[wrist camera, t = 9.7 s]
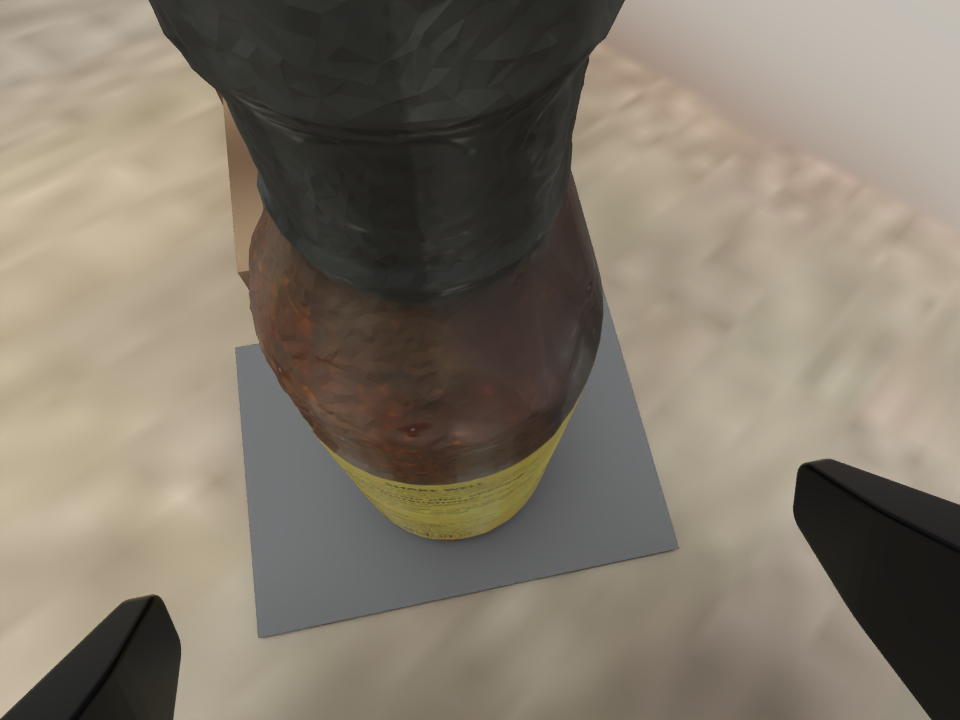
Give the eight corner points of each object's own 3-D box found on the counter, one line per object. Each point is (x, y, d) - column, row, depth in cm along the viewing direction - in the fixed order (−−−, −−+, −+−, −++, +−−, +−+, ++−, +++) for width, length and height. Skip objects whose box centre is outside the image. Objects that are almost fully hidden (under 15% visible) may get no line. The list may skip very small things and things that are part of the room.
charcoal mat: (675, 549, 22) (679, 548, 22) (261, 637, 21) (258, 637, 21) (600, 290, 26) (602, 286, 25) (238, 351, 24) (235, 347, 24)
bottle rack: (573, 272, 26) (631, 114, 17) (257, 324, 25) (154, 180, 16) (521, 85, 29) (548, -126, 21) (238, 122, 28) (144, -86, 19)
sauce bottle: (574, 475, 23) (1131, -85, 4) (423, 583, 21) (219, 490, 3) (467, 331, 24) (515, -530, 6) (322, 423, 23) (-241, -325, 4)
